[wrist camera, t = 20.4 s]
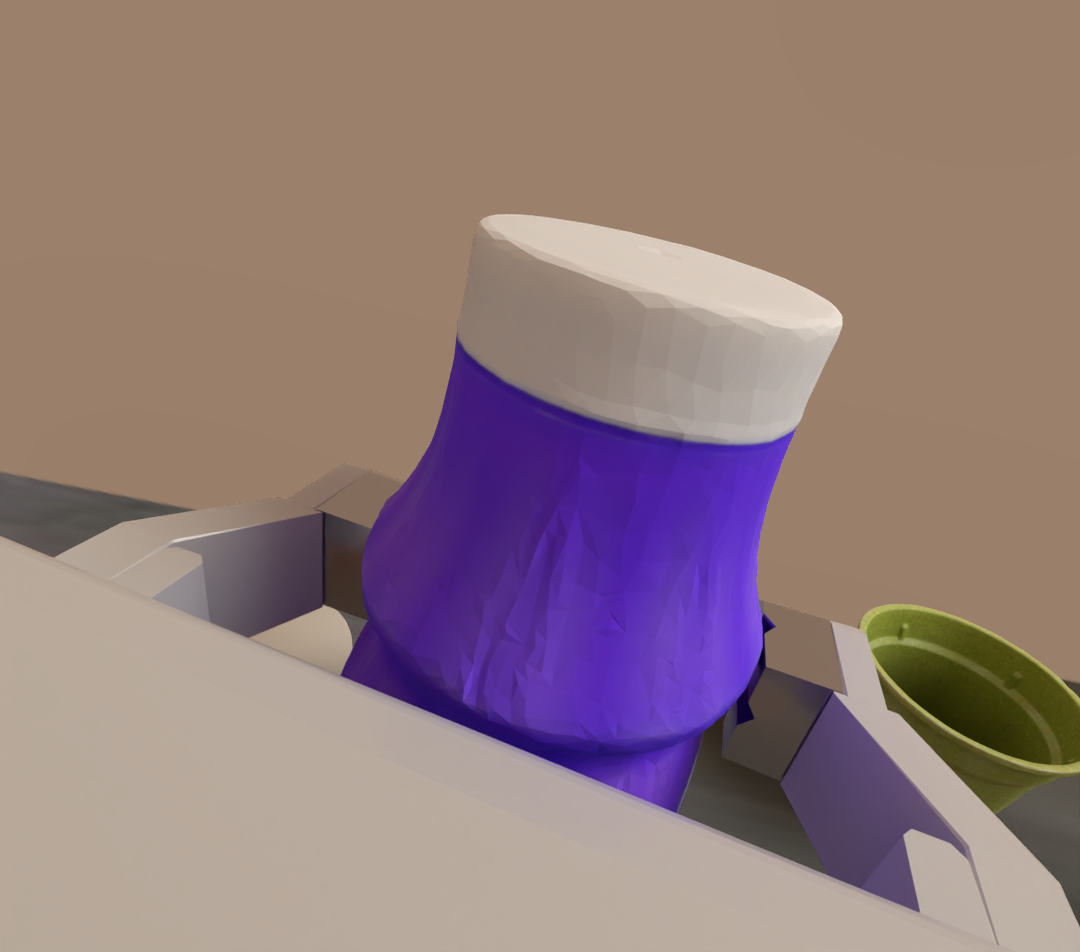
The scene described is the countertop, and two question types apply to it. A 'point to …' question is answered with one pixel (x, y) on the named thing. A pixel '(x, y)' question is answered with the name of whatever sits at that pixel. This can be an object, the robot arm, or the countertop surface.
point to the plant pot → (975, 700)
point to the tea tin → (313, 639)
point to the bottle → (593, 500)
